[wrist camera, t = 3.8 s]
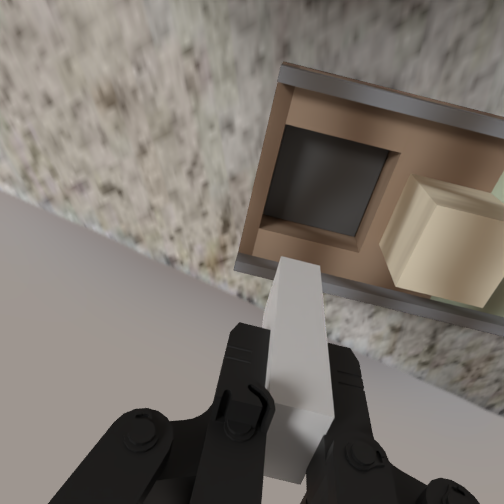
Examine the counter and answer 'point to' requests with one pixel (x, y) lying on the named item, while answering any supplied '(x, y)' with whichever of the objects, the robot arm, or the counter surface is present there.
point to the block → (446, 241)
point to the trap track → (362, 184)
